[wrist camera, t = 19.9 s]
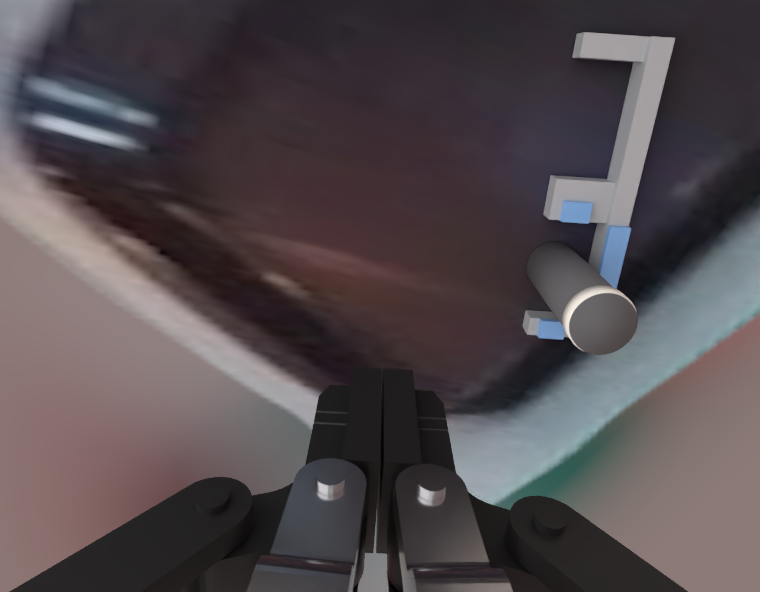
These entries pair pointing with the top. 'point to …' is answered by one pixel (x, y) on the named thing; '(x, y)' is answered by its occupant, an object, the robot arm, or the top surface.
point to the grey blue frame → (618, 192)
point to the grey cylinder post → (582, 299)
